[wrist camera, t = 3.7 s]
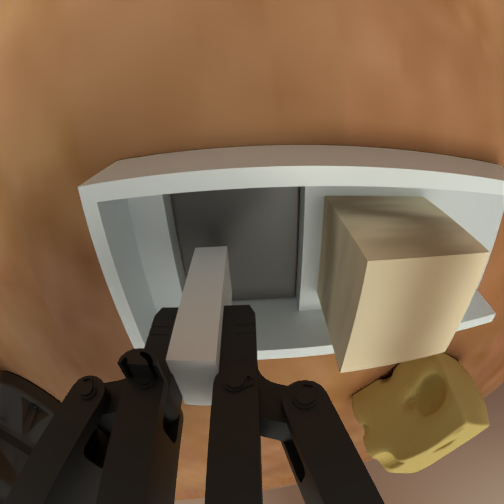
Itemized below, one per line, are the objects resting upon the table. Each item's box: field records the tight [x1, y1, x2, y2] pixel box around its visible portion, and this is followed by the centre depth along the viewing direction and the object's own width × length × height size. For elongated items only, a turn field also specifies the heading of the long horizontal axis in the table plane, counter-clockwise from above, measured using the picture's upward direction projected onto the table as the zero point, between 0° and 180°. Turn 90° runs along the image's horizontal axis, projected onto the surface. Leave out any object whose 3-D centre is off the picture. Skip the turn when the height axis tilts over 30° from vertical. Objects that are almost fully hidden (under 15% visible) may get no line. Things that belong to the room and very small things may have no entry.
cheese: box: [352, 353, 489, 473], centre depth 22 cm, size 10×11×10 cm
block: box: [317, 196, 490, 373], centre depth 13 cm, size 6×6×6 cm
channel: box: [78, 145, 504, 360], centre depth 15 cm, size 25×11×4 cm, turn 92°
